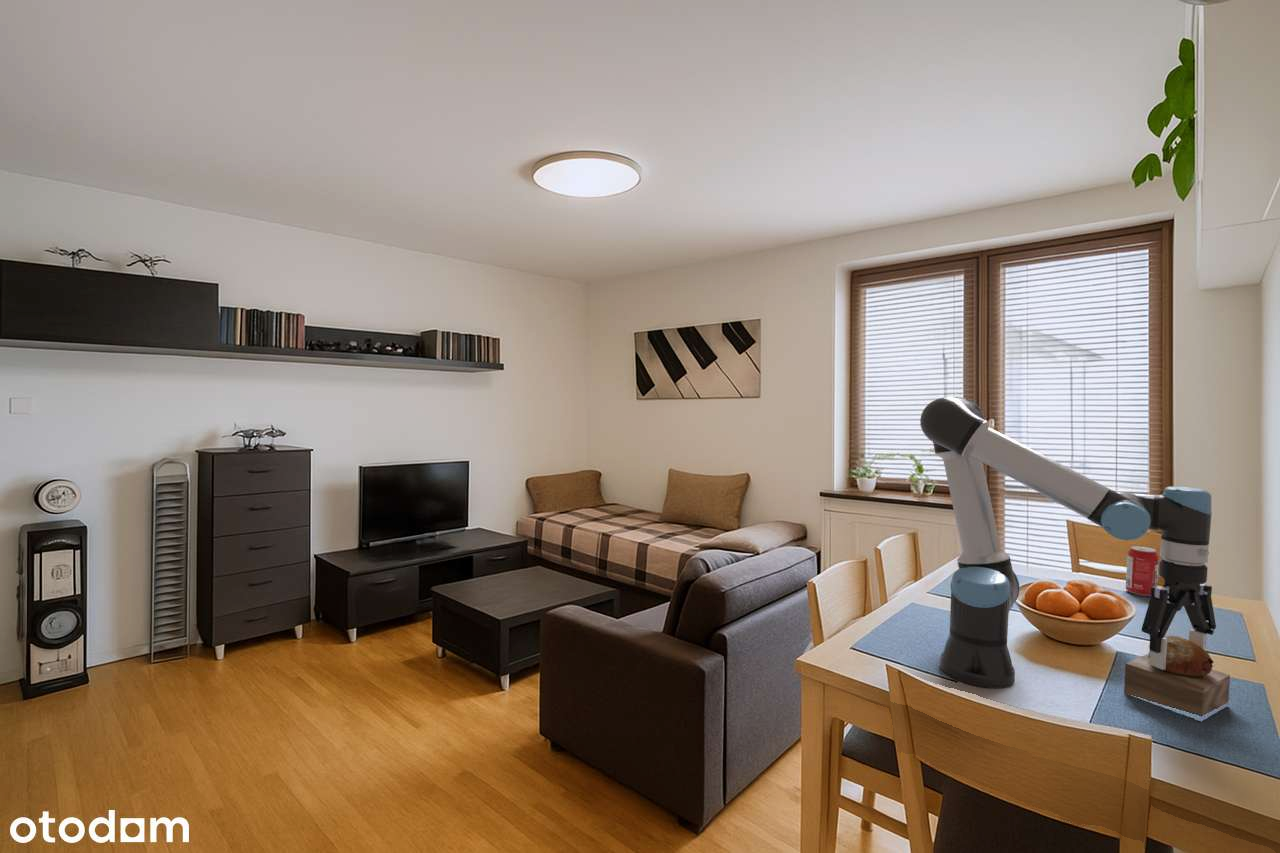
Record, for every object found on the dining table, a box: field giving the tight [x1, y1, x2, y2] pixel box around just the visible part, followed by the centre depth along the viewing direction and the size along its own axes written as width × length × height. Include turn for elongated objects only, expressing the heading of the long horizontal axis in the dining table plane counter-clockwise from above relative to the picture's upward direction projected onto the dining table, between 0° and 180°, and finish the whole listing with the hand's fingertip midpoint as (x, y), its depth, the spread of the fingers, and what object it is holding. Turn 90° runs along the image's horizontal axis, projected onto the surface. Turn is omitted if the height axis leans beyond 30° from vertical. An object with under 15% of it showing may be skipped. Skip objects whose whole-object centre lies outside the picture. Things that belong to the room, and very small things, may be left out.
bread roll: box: [1148, 635, 1214, 676], centre depth 128 cm, size 10×10×8 cm
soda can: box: [1125, 545, 1160, 597], centre depth 198 cm, size 8×8×15 cm
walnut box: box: [1123, 653, 1231, 717], centre depth 128 cm, size 13×13×7 cm
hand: (1176, 664), depth 128 cm, fingers closed on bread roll, 10 cm apart
